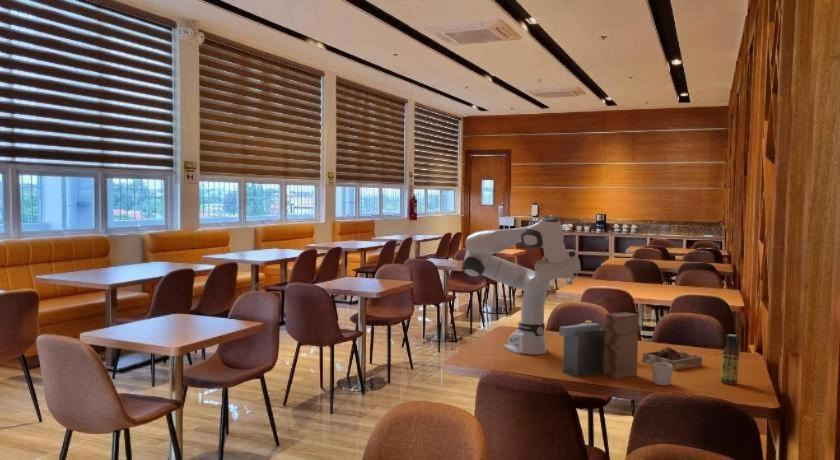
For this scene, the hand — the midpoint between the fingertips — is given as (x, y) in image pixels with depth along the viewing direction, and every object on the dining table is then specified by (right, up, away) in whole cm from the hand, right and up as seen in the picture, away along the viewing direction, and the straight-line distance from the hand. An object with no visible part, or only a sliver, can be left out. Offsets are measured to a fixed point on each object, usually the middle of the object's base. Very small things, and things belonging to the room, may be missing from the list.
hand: (560, 287), depth 267 cm
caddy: (+57, -37, +26) cm, 72 cm away
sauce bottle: (+68, -39, -4) cm, 79 cm away
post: (+26, -38, +4) cm, 46 cm away
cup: (+39, -39, -6) cm, 55 cm away
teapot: (+29, -35, +60) cm, 75 cm away
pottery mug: (+55, -37, +28) cm, 72 cm away
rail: (+10, -20, +6) cm, 23 cm away
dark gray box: (+13, -37, +8) cm, 40 cm away
